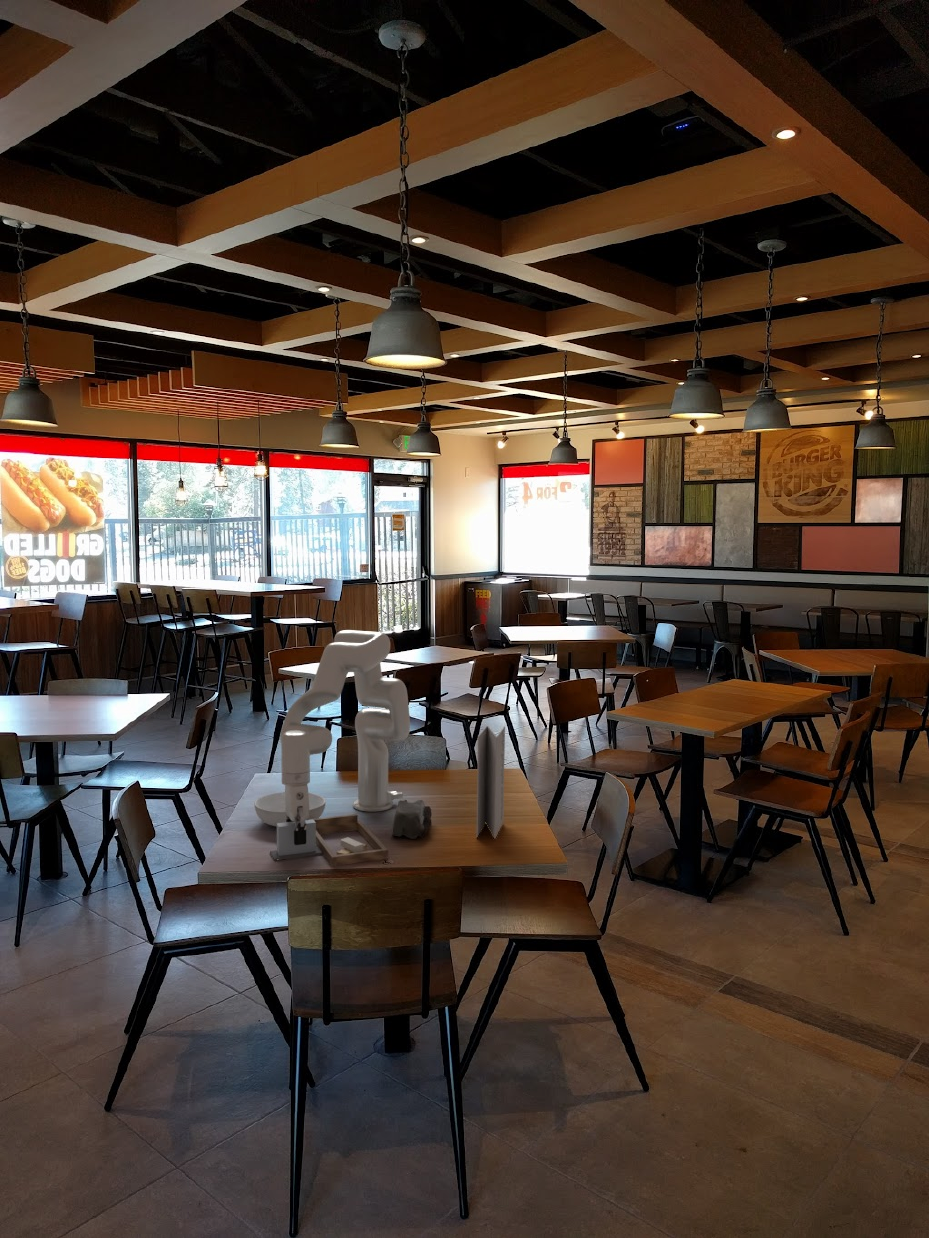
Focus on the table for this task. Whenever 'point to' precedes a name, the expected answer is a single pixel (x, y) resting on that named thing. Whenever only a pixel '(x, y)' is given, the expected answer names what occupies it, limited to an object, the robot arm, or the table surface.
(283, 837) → the light grey block
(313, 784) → the table surface
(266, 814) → the serving bowl
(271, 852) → the mat
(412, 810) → the rock
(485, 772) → the brochure
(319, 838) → the wooden tray
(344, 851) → the offcut lower
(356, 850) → the offcut upper
